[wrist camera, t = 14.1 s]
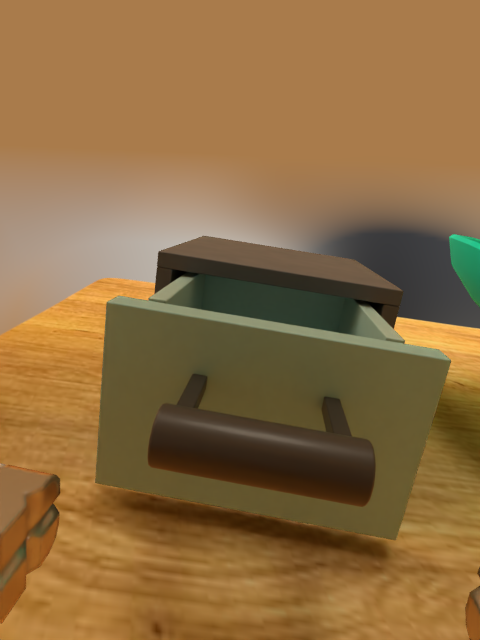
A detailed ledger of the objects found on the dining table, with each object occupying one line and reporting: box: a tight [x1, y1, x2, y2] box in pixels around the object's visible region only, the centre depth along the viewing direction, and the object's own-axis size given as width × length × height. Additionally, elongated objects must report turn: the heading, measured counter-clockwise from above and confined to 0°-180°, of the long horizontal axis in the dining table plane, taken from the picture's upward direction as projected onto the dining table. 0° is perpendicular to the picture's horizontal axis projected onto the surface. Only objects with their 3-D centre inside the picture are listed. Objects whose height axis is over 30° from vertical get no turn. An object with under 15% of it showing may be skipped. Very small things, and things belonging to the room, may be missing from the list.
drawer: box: [95, 272, 451, 540], centre depth 20 cm, size 18×13×8 cm
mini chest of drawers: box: [155, 236, 403, 329], centre depth 31 cm, size 15×14×10 cm
